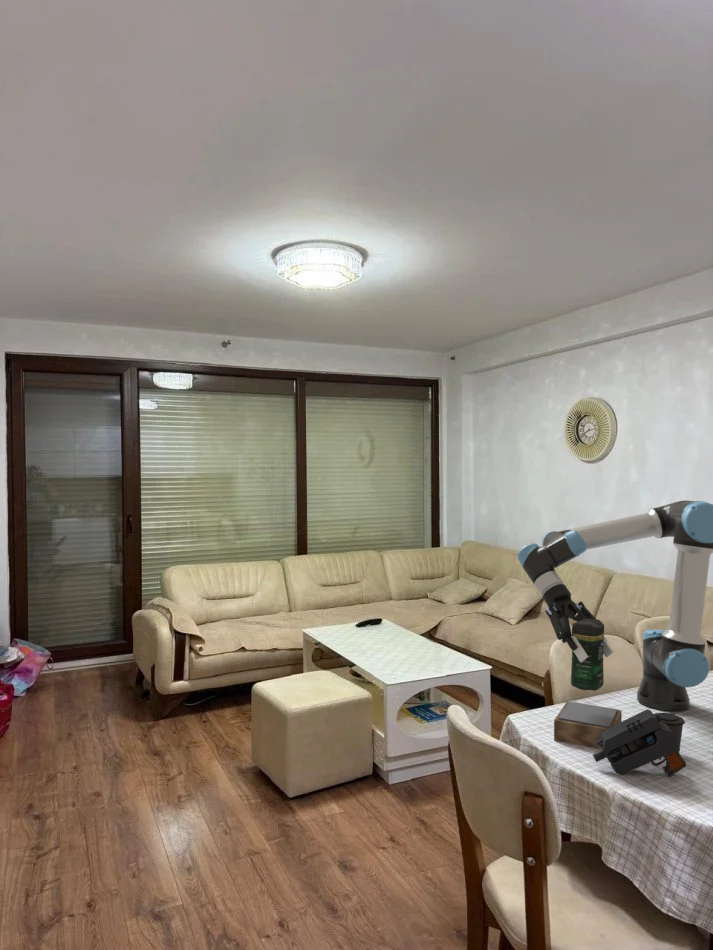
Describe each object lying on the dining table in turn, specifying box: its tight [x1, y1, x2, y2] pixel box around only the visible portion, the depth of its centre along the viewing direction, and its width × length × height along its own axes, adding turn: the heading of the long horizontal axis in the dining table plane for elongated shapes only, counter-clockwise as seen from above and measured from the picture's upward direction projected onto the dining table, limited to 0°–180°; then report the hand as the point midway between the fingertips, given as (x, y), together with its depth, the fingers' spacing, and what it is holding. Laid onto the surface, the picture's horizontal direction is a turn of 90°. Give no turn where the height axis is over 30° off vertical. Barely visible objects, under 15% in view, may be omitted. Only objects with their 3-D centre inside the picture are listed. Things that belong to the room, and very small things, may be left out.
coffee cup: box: [656, 712, 686, 754], centre depth 169 cm, size 8×8×10 cm
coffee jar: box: [570, 618, 605, 691], centre depth 182 cm, size 10×8×19 cm
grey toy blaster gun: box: [592, 709, 687, 778], centre depth 159 cm, size 6×19×15 cm, turn 78°
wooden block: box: [553, 701, 623, 751], centre depth 182 cm, size 15×17×6 cm
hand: (597, 657), depth 179 cm, fingers closed on coffee jar, 10 cm apart
